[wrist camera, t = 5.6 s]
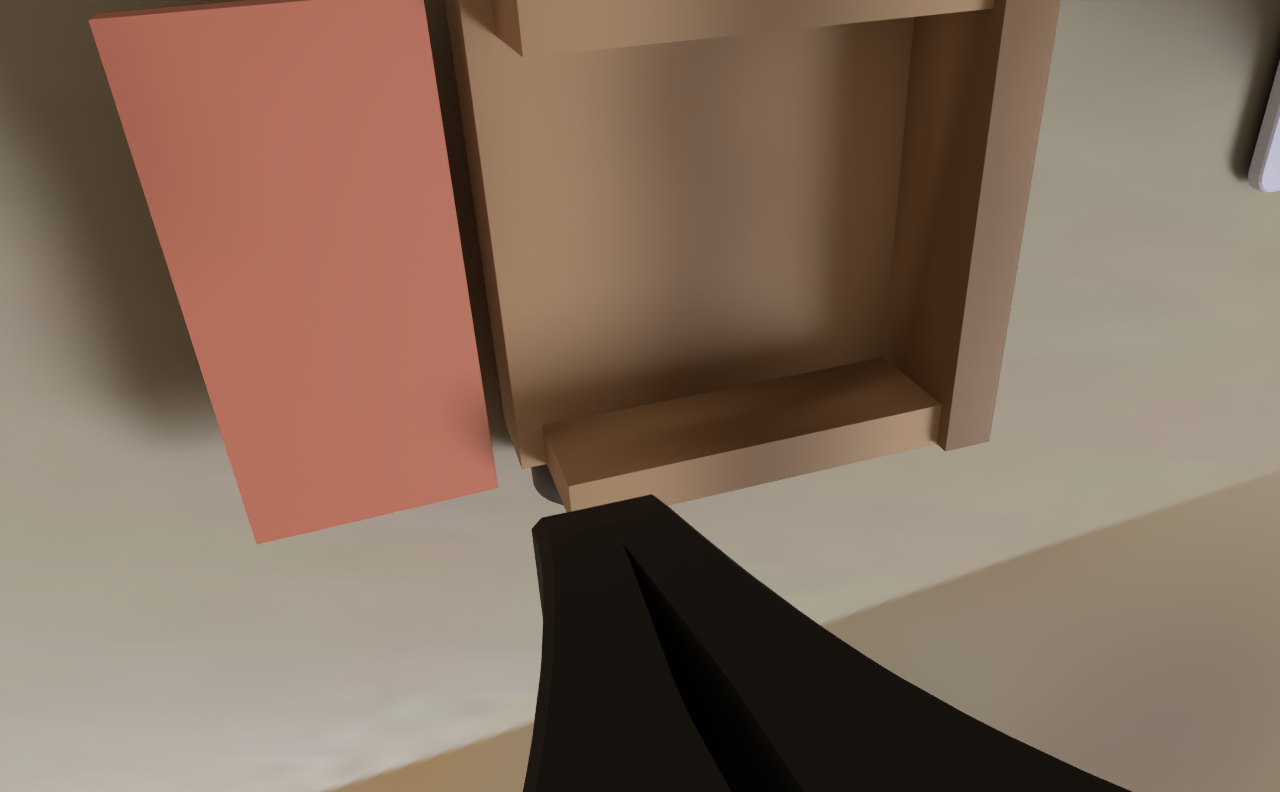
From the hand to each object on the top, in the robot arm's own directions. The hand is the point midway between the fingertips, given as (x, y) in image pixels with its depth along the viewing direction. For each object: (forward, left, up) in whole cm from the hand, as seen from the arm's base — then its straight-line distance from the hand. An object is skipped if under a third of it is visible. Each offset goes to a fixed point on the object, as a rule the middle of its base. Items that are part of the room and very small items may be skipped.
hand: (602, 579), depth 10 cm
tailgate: (0, -1, -8) cm, 8 cm away
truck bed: (-5, -1, -10) cm, 11 cm away
